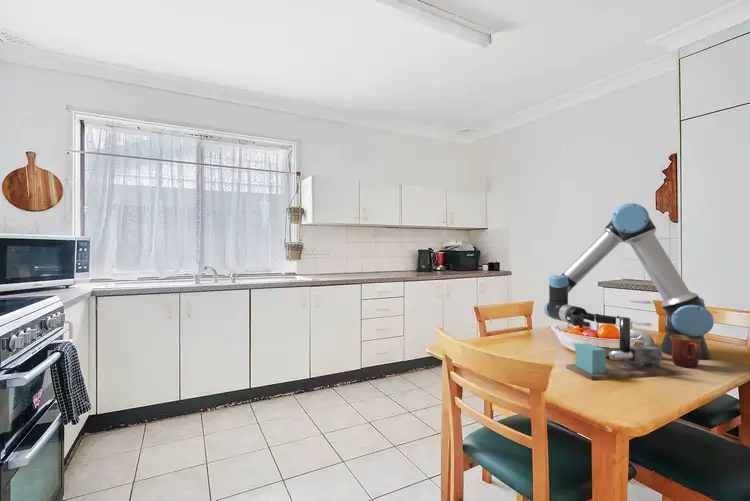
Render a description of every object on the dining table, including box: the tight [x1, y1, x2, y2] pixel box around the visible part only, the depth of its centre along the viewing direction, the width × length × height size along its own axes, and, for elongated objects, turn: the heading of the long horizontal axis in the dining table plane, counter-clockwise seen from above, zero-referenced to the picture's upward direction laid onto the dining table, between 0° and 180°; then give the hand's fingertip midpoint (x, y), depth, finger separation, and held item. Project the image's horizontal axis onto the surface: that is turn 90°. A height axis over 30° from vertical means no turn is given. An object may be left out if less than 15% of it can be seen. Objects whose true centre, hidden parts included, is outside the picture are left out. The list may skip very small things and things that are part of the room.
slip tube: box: [608, 316, 663, 361], centre depth 128 cm, size 18×3×14 cm, turn 99°
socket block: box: [574, 343, 607, 374], centre depth 125 cm, size 5×8×8 cm, turn 9°
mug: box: [670, 335, 701, 369], centre depth 131 cm, size 12×9×10 cm
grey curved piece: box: [630, 330, 656, 347], centre depth 144 cm, size 10×4×10 cm, turn 40°
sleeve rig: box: [565, 344, 677, 381], centre depth 127 cm, size 32×12×8 cm, turn 99°
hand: (614, 325), depth 131 cm, fingers open, 13 cm apart
